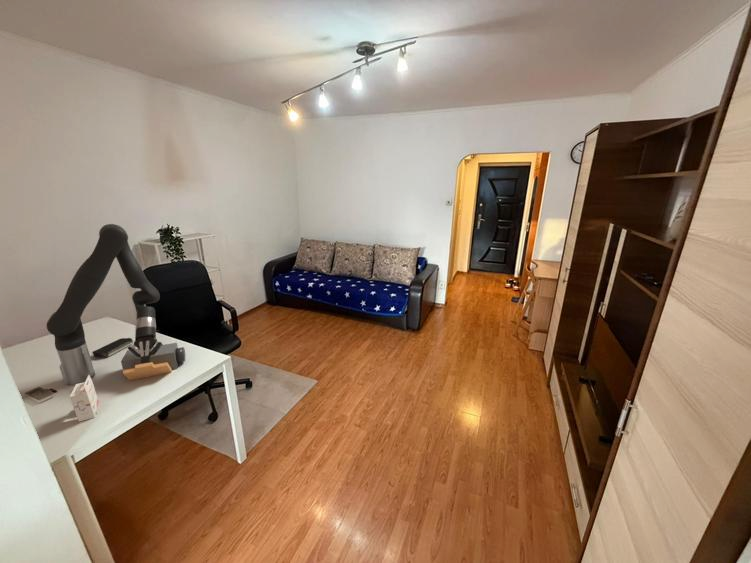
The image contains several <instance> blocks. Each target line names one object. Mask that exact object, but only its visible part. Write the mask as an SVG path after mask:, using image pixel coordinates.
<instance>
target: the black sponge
mask: <svg viewBox="0 0 751 563" xmlns="http://www.w3.org/2000/svg"><path fill="white" fill-rule="evenodd" d="M132 345H134V340H133V338H132V337H126V338H124V337H123V338H118V339H117V340H114V341H113V342H110V343H109V344H105V345H104V346H102V347H100V348H98V349H96V350H94V351H92V353H91V354H92V355H93V357H99V358H100V357H101V358H109V357H110V356H112V355H115V354H116V353H119V352H120V351H122V350H123V349H125V348H128V347H130V346H132Z"/></svg>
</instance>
